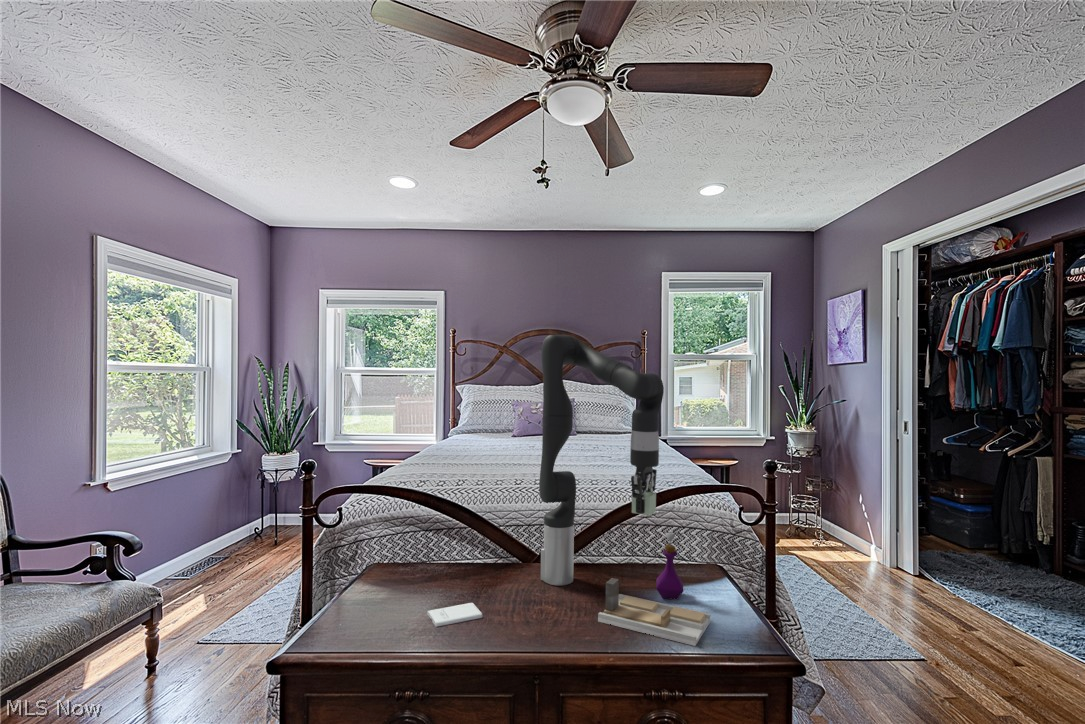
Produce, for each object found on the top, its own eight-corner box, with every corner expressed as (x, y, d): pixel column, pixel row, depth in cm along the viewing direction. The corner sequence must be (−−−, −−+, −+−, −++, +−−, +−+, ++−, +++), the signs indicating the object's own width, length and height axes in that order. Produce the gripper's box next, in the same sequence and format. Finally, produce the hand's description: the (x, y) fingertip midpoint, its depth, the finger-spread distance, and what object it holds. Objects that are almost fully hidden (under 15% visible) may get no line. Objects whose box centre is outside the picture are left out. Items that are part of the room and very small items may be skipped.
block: (631, 512, 151) (631, 494, 151) (638, 508, 156) (638, 490, 156) (649, 515, 149) (649, 496, 149) (655, 511, 153) (656, 492, 153)
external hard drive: (482, 620, 148) (435, 629, 142) (472, 607, 155) (427, 615, 149) (482, 613, 148) (435, 622, 142) (472, 601, 155) (427, 609, 149)
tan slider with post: (603, 615, 147) (604, 583, 147) (611, 608, 151) (611, 577, 151) (664, 629, 139) (664, 596, 139) (670, 622, 143) (670, 589, 143)
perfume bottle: (683, 602, 158) (684, 538, 158) (656, 600, 160) (656, 536, 160) (682, 592, 166) (683, 530, 166) (656, 590, 167) (656, 528, 167)
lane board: (598, 621, 146) (598, 611, 146) (619, 600, 159) (620, 591, 159) (695, 646, 134) (695, 635, 134) (710, 621, 147) (710, 611, 147)
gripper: (649, 452, 144) (648, 519, 144) (666, 445, 157) (665, 507, 157) (621, 449, 148) (620, 514, 148) (640, 443, 160) (639, 503, 160)
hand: (643, 510), depth 152 cm, fingers closed on block, 5 cm apart
